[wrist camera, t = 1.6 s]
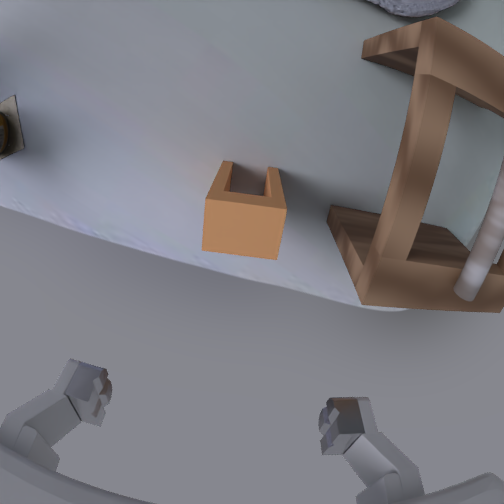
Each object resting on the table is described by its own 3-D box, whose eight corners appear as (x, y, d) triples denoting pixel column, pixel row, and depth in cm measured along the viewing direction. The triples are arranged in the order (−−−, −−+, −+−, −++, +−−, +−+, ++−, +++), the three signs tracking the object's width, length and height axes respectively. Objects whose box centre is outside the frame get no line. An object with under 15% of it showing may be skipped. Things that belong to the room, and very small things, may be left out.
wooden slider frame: (363, 40, 23) (455, 12, 9) (483, 92, 24) (587, 120, 10) (326, 221, 33) (369, 323, 19) (441, 242, 34) (509, 326, 20)
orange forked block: (223, 160, 30) (205, 198, 20) (277, 168, 30) (287, 209, 21) (219, 197, 32) (201, 250, 22) (271, 204, 32) (276, 259, 23)
